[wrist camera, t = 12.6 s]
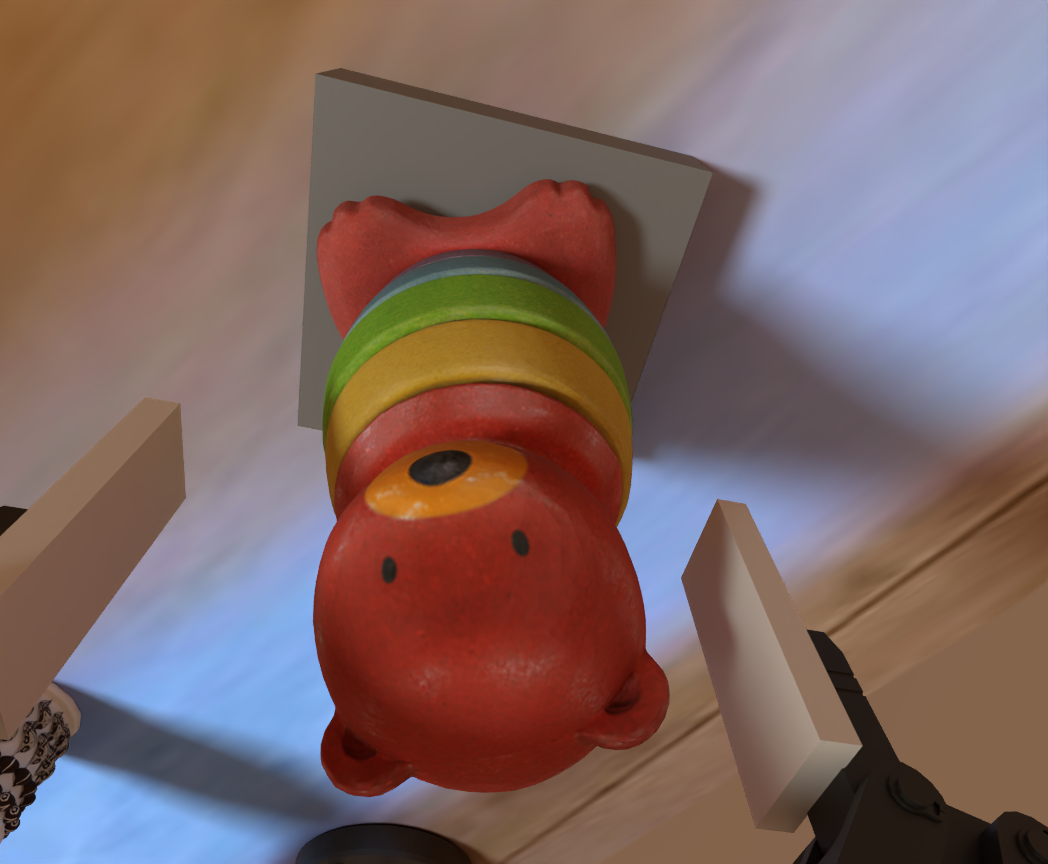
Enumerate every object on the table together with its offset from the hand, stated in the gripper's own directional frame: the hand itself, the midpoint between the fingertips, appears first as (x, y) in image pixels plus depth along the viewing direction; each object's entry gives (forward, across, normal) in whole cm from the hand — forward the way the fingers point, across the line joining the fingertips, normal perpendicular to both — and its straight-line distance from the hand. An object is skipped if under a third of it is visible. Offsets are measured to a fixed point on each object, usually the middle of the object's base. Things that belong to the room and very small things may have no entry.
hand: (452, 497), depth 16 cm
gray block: (+16, 0, 0) cm, 16 cm away
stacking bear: (+12, 0, 0) cm, 12 cm away
